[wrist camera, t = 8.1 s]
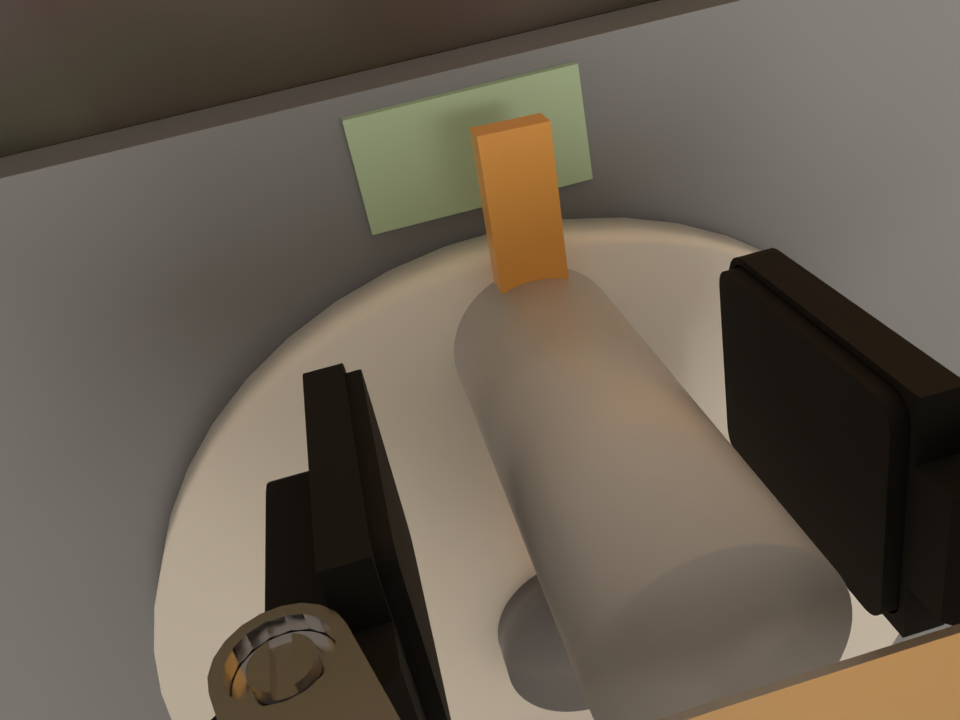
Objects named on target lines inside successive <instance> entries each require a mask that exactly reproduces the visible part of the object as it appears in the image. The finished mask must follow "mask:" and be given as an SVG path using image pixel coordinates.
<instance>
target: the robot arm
mask: <svg viewBox="0 0 960 720" xmlns="http://www.w3.org/2000/svg"><path fill="white" fill-rule="evenodd" d="M719 291H720V308H721V325H722V342H723V359H724V376H725V393H726V411H727V428H728V435H729V439H730V442H731V445H732V446H733V447H734V449H735V450H736V451H737V452H738V453H739V455H740V456H741V457H742V458H743V459H744V461H745V462H746V463H747V464H748V465H749V467H750V468H751V469H752V470H753V471H754V473H755V474H756V475H757V476H758V477H759V479H760V480H761V481H762V482H763V483H764V485H765V486H766V487H767V488H768V489H769V490H770V492H771V493H772V494H773V495H774V496H775V498H776V499H777V500H778V501H779V502H780V504H781V505H782V506H783V507H784V508H785V510H786V511H787V512H788V513H789V514H790V516H791V517H792V518H793V519H794V520H795V522H796V523H797V524H798V525H799V526H800V528H801V529H802V530H803V531H804V532H805V534H806V535H807V536H808V537H809V538H810V540H811V541H812V542H813V543H814V544H815V546H816V547H817V548H818V549H819V550H820V552H821V553H822V554H823V555H824V556H825V558H826V559H827V560H828V561H829V562H830V564H831V565H832V566H833V567H834V568H835V569H836V571H837V572H838V573H839V575H840V576H841V578H842V579H843V581H844V582H845V584H846V586H847V588H848V589H849V591H850V592H851V593H852V594H853V595H854V597H855V598H856V599H857V600H858V601H859V603H860V604H861V605H862V606H863V607H864V609H865V610H866V611H867V612H868V613H870V614H871V615H873V616H878V615H881V614H883V615H884V616H885V618H886V619H887V620H888V621H889V622H890V624H891V625H892V626H893V627H894V628H895V629H896V631H897V632H898V633H899V634H900V635H901V636H902V638H904V637H908V636H911V635H914V634H917V633H920V632H923V631H927V630H930V629H933V628H936V627H939V626H943V625H944V624H948V625H952V626H951V627H948V628H945V629H941V630H938V631H935V632H932V633H929V634H925V635H922V636H919V637H916V638H913V639H910V640H906V641H903V642H900V643H897V644H894V645H890V646H887V647H884V648H881V649H878V650H875V651H871V652H868V653H865V654H862V655H859V656H855V657H852V658H849V659H846V660H843V661H840V662H836V663H833V664H830V665H827V666H824V667H821V668H817V669H814V670H811V671H808V672H805V673H802V674H798V675H795V676H792V677H789V678H786V679H783V680H779V681H776V682H773V683H770V684H767V685H764V686H760V687H757V688H754V689H751V690H748V691H745V692H742V693H738V694H735V695H732V696H729V697H726V698H723V699H719V700H716V701H713V702H710V703H707V704H704V705H701V706H697V707H694V708H691V709H688V710H685V711H682V712H679V713H676V714H673V715H669V716H666V717H663V718H660V719H657V720H960V377H959V376H957V375H956V374H954V373H953V372H951V371H950V370H949V369H947V368H946V367H944V366H943V365H941V364H940V363H939V362H937V361H936V360H934V359H933V358H931V357H930V356H929V355H927V354H926V353H924V352H923V351H922V350H920V349H919V348H917V347H916V346H914V345H913V344H912V343H910V342H909V341H907V340H906V339H904V338H903V337H902V336H900V335H899V334H897V333H896V332H894V331H893V330H892V329H890V328H889V327H887V326H886V325H884V324H883V323H882V322H880V321H879V320H877V319H876V318H875V317H873V316H872V315H870V314H869V313H867V312H866V311H865V310H863V309H862V308H860V307H859V306H857V305H856V304H855V303H853V302H852V301H850V300H849V299H847V298H846V297H845V296H843V295H842V294H840V293H839V292H837V291H836V290H835V289H833V288H832V287H830V286H829V285H828V284H826V283H825V282H823V281H822V280H820V279H819V278H818V277H816V276H815V275H813V274H812V273H810V272H809V271H808V270H806V269H805V268H803V267H802V266H800V265H799V264H798V263H796V262H795V261H793V260H792V259H790V258H789V257H788V256H786V255H785V254H783V253H782V252H781V251H779V250H778V249H775V248H770V249H766V250H762V251H758V252H755V253H751V254H747V255H744V256H740V257H736V258H733V259H732V261H731V263H730V267H729V270H727V271H723V272H722V273H721V274H720V278H719ZM303 392H304V407H305V422H306V438H307V453H308V468H309V471H306V472H302V473H299V474H295V475H292V476H288V477H284V478H281V479H277V480H274V481H270V482H268V483H267V485H266V524H265V612H264V613H261V614H259V615H258V616H256V617H254V618H253V619H251V620H250V621H248V622H246V623H245V624H243V625H242V626H240V627H239V628H238V629H237V630H236V631H235V632H234V633H233V634H232V635H231V636H230V637H229V638H228V639H226V640H225V641H224V643H223V644H222V646H221V647H220V649H219V650H218V652H217V653H216V655H215V656H214V658H213V660H212V663H211V667H210V670H209V673H208V676H207V679H208V691H209V696H210V700H211V703H212V706H213V709H214V712H215V716H214V717H213V718H212V719H211V720H451V717H450V712H449V708H448V703H447V699H446V694H445V689H444V685H443V680H442V676H441V671H440V667H439V662H438V657H437V653H436V648H435V644H434V639H433V634H432V630H431V625H430V621H429V616H428V612H427V607H426V602H425V598H424V593H423V589H422V584H421V579H420V575H419V570H418V566H417V561H416V557H415V552H414V548H413V543H412V539H411V535H410V532H409V528H408V524H407V521H406V518H405V514H404V511H403V507H402V504H401V501H400V497H399V494H398V491H397V487H396V484H395V480H394V477H393V474H392V470H391V467H390V464H389V460H388V457H387V454H386V450H385V447H384V443H383V440H382V437H381V433H380V430H379V427H378V423H377V420H376V416H375V413H374V410H373V406H372V403H371V400H370V396H369V393H368V390H367V386H366V383H365V379H364V376H363V373H362V370H361V369H359V370H355V371H352V372H348V373H346V370H345V367H344V365H343V363H341V364H337V365H333V366H329V367H326V368H322V369H318V370H315V371H311V372H307V373H303Z"/></svg>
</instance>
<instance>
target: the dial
mask: <svg viewBox="0 0 960 720" xmlns="http://www.w3.org/2000/svg"><path fill="white" fill-rule="evenodd" d="M470 134H471V140H472V146H473V153H474V159H475V165H476V171H477V177H478V184H479V190H480V196H481V202H482V209H483V215H484V221H485V227H486V233H487V234H485V235H481V236H478V237H475V238H471V239H468V240H464V241H461V242H457V243H454V244H451V245H447V246H444V247H442V248H440V249H437V250H435V251H433V252H430V253H428V254H426V255H423V256H421V257H419V258H417V259H414V260H412V261H410V262H407V263H405V264H403V265H400V266H398V267H396V268H393V269H391V270H389V271H387V272H385V273H384V274H382V275H380V276H378V277H377V278H375V279H373V280H372V281H370V282H368V283H366V284H365V285H363V286H361V287H360V288H358V289H356V290H354V291H353V292H351V293H349V294H348V295H346V296H344V297H342V298H341V299H339V300H337V301H336V302H334V303H333V304H332V305H330V306H329V307H328V308H326V309H325V310H324V311H322V312H321V313H320V314H319V315H317V316H316V317H315V318H313V319H312V320H311V321H309V322H308V323H307V324H305V325H304V326H303V327H302V328H300V329H299V330H298V331H296V332H295V333H294V334H292V335H291V336H290V337H288V338H287V339H286V340H285V341H284V342H283V343H282V344H281V345H280V346H279V347H278V348H277V349H276V350H275V351H274V352H273V353H272V354H271V355H270V356H269V357H268V358H267V359H266V360H265V361H264V362H263V363H262V364H261V365H260V366H259V367H258V368H257V369H256V370H255V371H254V372H253V373H252V374H251V375H250V376H249V377H248V378H247V379H246V380H245V382H244V383H243V384H242V386H241V387H240V388H239V389H238V391H237V392H236V393H235V395H234V396H233V397H232V399H231V400H230V401H229V403H228V404H227V405H226V407H225V408H224V409H223V410H222V412H221V413H220V414H219V416H218V417H217V418H216V420H215V421H214V422H213V424H212V426H211V427H210V429H209V431H208V433H207V435H206V436H205V438H204V440H203V442H202V444H201V445H200V447H199V449H198V451H197V452H196V454H195V456H194V458H193V460H192V461H191V463H190V465H189V467H188V469H187V471H186V474H185V477H184V480H183V482H182V485H181V488H180V490H179V493H178V496H177V499H176V501H175V504H174V507H173V509H172V512H171V515H170V521H169V526H168V531H167V536H166V542H165V547H164V552H163V557H162V563H161V569H160V575H159V581H158V588H157V594H156V600H155V606H154V655H155V661H156V666H157V672H158V678H159V683H160V689H161V694H162V696H163V699H164V702H165V704H166V707H167V710H168V712H169V715H170V717H171V720H211V719H212V718H213V717H214V716H215V712H214V709H213V706H212V703H211V700H210V696H209V691H208V679H207V676H208V673H209V670H210V667H211V663H212V660H213V658H214V656H215V655H216V653H217V652H218V650H219V649H220V647H221V646H222V644H223V643H224V641H225V640H226V639H228V638H229V637H230V636H231V635H232V634H233V633H234V632H235V631H236V630H237V629H238V628H239V627H240V626H242V625H243V624H245V623H246V622H248V621H250V620H251V619H253V618H254V617H256V616H258V615H259V614H261V613H264V612H265V524H266V485H267V483H268V482H270V481H274V480H277V479H281V478H284V477H288V476H292V475H295V474H299V473H302V472H306V471H309V468H308V453H307V438H306V422H305V407H304V392H303V373H307V372H311V371H315V370H318V369H322V368H326V367H329V366H333V365H337V364H341V363H343V365H344V367H345V370H346V373H348V372H352V371H355V370H359V369H361V370H362V373H363V376H364V379H365V383H366V386H367V390H368V393H369V396H370V400H371V403H372V406H373V410H374V413H375V416H376V420H377V423H378V427H379V430H380V433H381V437H382V440H383V443H384V447H385V450H386V454H387V457H388V460H389V464H390V467H391V470H392V474H393V477H394V480H395V484H396V487H397V491H398V494H399V497H400V501H401V504H402V507H403V511H404V514H405V518H406V521H407V524H408V528H409V532H410V535H411V539H412V543H413V548H414V552H415V557H416V561H417V566H418V570H419V575H420V579H421V584H422V589H423V593H424V598H425V602H426V607H427V612H428V616H429V621H430V625H431V630H432V634H433V639H434V644H435V648H436V653H437V657H438V662H439V667H440V671H441V676H442V680H443V685H444V689H445V694H446V699H447V703H448V708H449V712H450V717H451V720H657V719H660V718H663V717H666V716H669V715H673V714H676V713H679V712H682V711H685V710H688V709H691V708H694V707H697V706H701V705H704V704H707V703H710V702H713V701H716V700H719V699H723V698H726V697H729V696H732V695H735V694H738V693H742V692H745V691H748V690H751V689H754V688H757V687H760V686H764V685H767V684H770V683H773V682H776V681H779V680H783V679H786V678H789V677H792V676H795V675H798V674H802V673H805V672H808V671H811V670H814V669H817V668H821V667H824V666H827V665H830V664H833V663H836V662H840V661H843V660H846V659H849V658H852V657H855V656H859V655H862V654H865V653H868V652H871V651H875V650H878V649H881V648H884V647H887V646H890V645H892V644H893V642H894V641H895V639H896V638H897V636H898V634H899V633H898V632H897V631H896V629H895V628H894V627H893V626H892V625H891V624H890V622H889V621H888V620H887V619H886V618H885V616H884V615H883V614H881V615H878V616H873V615H871V614H870V613H868V612H867V611H866V610H865V609H864V607H863V606H862V605H861V604H860V603H859V601H858V600H857V599H856V598H855V597H854V595H853V594H852V593H851V592H850V591H849V589H848V588H847V586H846V584H845V582H844V581H843V579H842V578H841V576H840V575H839V573H838V572H837V571H836V569H835V568H834V567H833V566H832V565H831V564H830V562H829V561H828V560H827V559H826V558H825V556H824V555H823V554H822V553H821V552H820V550H819V549H818V548H817V547H816V546H815V544H814V543H813V542H812V541H811V540H810V538H809V537H808V536H807V535H806V534H805V532H804V531H803V530H802V529H801V528H800V526H799V525H798V524H797V523H796V522H795V520H794V519H793V518H792V517H791V516H790V514H789V513H788V512H787V511H786V510H785V508H784V507H783V506H782V505H781V504H780V502H779V501H778V500H777V499H776V498H775V496H774V495H773V494H772V493H771V492H770V490H769V489H768V488H767V487H766V486H765V485H764V483H763V482H762V481H761V480H760V479H759V477H758V476H757V475H756V474H755V473H754V471H753V470H752V469H751V468H750V467H749V465H748V464H747V463H746V462H745V461H744V459H743V458H742V457H741V456H740V455H739V453H738V452H737V451H736V450H735V449H734V447H733V446H732V445H731V442H730V439H729V435H728V428H727V411H726V393H725V376H724V359H723V342H722V325H721V308H720V291H719V278H720V274H721V273H722V272H723V271H727V270H729V267H730V263H731V261H732V259H733V258H736V257H740V256H744V255H747V254H751V253H755V252H758V251H762V250H760V249H758V248H755V247H753V246H751V245H748V244H746V243H744V242H741V241H739V240H737V239H734V238H732V237H730V236H727V235H723V234H719V233H715V232H711V231H707V230H703V229H699V228H695V227H691V226H687V225H683V224H679V223H672V222H663V221H653V220H644V219H634V218H625V217H616V218H582V219H562V216H561V207H560V199H559V190H558V181H557V173H556V164H555V155H554V147H553V138H552V129H551V121H550V120H549V119H548V118H546V117H545V116H544V115H543V114H541V113H537V114H533V115H528V116H523V117H518V118H514V119H509V120H504V121H499V122H495V123H490V124H485V125H481V126H476V127H471V128H470Z"/></svg>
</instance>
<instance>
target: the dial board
mask: <svg viewBox="0 0 960 720" xmlns="http://www.w3.org/2000/svg"><path fill="white" fill-rule="evenodd" d="M537 113H541V114H543V115H544V116H545V117H546V118H548V119H549V120H550V121H551V129H552V138H553V147H554V155H555V164H556V173H557V181H558V190H559V199H560V207H561V216H562V219H582V218H616V217H625V218H634V219H644V220H653V221H663V222H672V223H679V224H683V225H687V226H691V227H695V228H699V229H703V230H707V231H711V232H715V233H719V234H723V235H727V236H730V237H732V238H734V239H737V240H739V241H741V242H744V243H746V244H748V245H751V246H753V247H755V248H758V249H760V250H766V249H770V248H775V249H778V250H779V251H781V252H782V253H783V254H785V255H786V256H788V257H789V258H790V259H792V260H793V261H795V262H796V263H798V264H799V265H800V266H802V267H803V268H805V269H806V270H808V271H809V272H810V273H812V274H813V275H815V276H816V277H818V278H819V279H820V280H822V281H823V282H825V283H826V284H828V285H829V286H830V287H832V288H833V289H835V290H836V291H837V292H839V293H840V294H842V295H843V296H845V297H846V298H847V299H849V300H850V301H852V302H853V303H855V304H856V305H857V306H859V307H860V308H862V309H863V310H865V311H866V312H867V313H869V314H870V315H872V316H873V317H875V318H876V319H877V320H879V321H880V322H882V323H883V324H884V325H886V326H887V327H889V328H890V329H892V330H893V331H894V332H896V333H897V334H899V335H900V336H902V337H903V338H904V339H906V340H907V341H909V342H910V343H912V344H913V345H914V346H916V347H917V348H919V349H920V350H922V351H923V352H924V353H926V354H927V355H929V356H930V357H931V358H933V359H934V360H936V361H937V362H939V363H940V364H941V365H943V366H944V367H946V368H947V369H949V370H950V371H951V372H953V373H954V374H956V375H957V376H959V377H960V0H659V1H655V2H651V3H646V4H642V5H638V6H634V7H630V8H626V9H621V10H617V11H613V12H609V13H605V14H600V15H596V16H592V17H588V18H584V19H579V20H575V21H571V22H567V23H563V24H559V25H554V26H550V27H546V28H542V29H538V30H533V31H529V32H525V33H521V34H517V35H512V36H508V37H504V38H500V39H496V40H491V41H487V42H483V43H479V44H475V45H471V46H466V47H462V48H458V49H454V50H450V51H445V52H441V53H437V54H433V55H429V56H424V57H420V58H416V59H412V60H408V61H404V62H399V63H395V64H391V65H387V66H383V67H378V68H374V69H370V70H366V71H362V72H357V73H353V74H349V75H345V76H341V77H337V78H332V79H328V80H324V81H320V82H316V83H311V84H307V85H303V86H299V87H295V88H290V89H286V90H282V91H278V92H274V93H269V94H265V95H261V96H257V97H253V98H249V99H244V100H240V101H236V102H232V103H228V104H223V105H219V106H215V107H211V108H207V109H202V110H198V111H194V112H190V113H186V114H182V115H177V116H173V117H169V118H165V119H161V120H156V121H152V122H148V123H144V124H140V125H135V126H131V127H127V128H123V129H119V130H115V131H110V132H106V133H102V134H98V135H94V136H89V137H85V138H81V139H77V140H73V141H68V142H64V143H60V144H56V145H52V146H47V147H43V148H39V149H35V150H31V151H27V152H22V153H18V154H14V155H10V156H6V157H1V158H0V720H171V717H170V715H169V712H168V710H167V707H166V704H165V702H164V699H163V696H162V694H161V689H160V683H159V678H158V672H157V666H156V661H155V655H154V606H155V600H156V594H157V588H158V581H159V575H160V569H161V563H162V557H163V552H164V547H165V542H166V536H167V531H168V526H169V521H170V515H171V512H172V509H173V507H174V504H175V501H176V499H177V496H178V493H179V490H180V488H181V485H182V482H183V480H184V477H185V474H186V471H187V469H188V467H189V465H190V463H191V461H192V460H193V458H194V456H195V454H196V452H197V451H198V449H199V447H200V445H201V444H202V442H203V440H204V438H205V436H206V435H207V433H208V431H209V429H210V427H211V426H212V424H213V422H214V421H215V420H216V418H217V417H218V416H219V414H220V413H221V412H222V410H223V409H224V408H225V407H226V405H227V404H228V403H229V401H230V400H231V399H232V397H233V396H234V395H235V393H236V392H237V391H238V389H239V388H240V387H241V386H242V384H243V383H244V382H245V380H246V379H247V378H248V377H249V376H250V375H251V374H252V373H253V372H254V371H255V370H256V369H257V368H258V367H259V366H260V365H261V364H262V363H263V362H264V361H265V360H266V359H267V358H268V357H269V356H270V355H271V354H272V353H273V352H274V351H275V350H276V349H277V348H278V347H279V346H280V345H281V344H282V343H283V342H284V341H285V340H286V339H287V338H288V337H290V336H291V335H292V334H294V333H295V332H296V331H298V330H299V329H300V328H302V327H303V326H304V325H305V324H307V323H308V322H309V321H311V320H312V319H313V318H315V317H316V316H317V315H319V314H320V313H321V312H322V311H324V310H325V309H326V308H328V307H329V306H330V305H332V304H333V303H334V302H336V301H337V300H339V299H341V298H342V297H344V296H346V295H348V294H349V293H351V292H353V291H354V290H356V289H358V288H360V287H361V286H363V285H365V284H366V283H368V282H370V281H372V280H373V279H375V278H377V277H378V276H380V275H382V274H384V273H385V272H387V271H389V270H391V269H393V268H396V267H398V266H400V265H403V264H405V263H407V262H410V261H412V260H414V259H417V258H419V257H421V256H423V255H426V254H428V253H430V252H433V251H435V250H437V249H440V248H442V247H444V246H447V245H451V244H454V243H457V242H461V241H464V240H468V239H471V238H475V237H478V236H481V235H485V234H487V233H486V227H485V221H484V215H483V209H482V202H481V196H480V190H479V184H478V177H477V171H476V165H475V159H474V153H473V146H472V140H471V134H470V128H471V127H476V126H481V125H485V124H490V123H495V122H499V121H504V120H509V119H514V118H518V117H523V116H528V115H533V114H537ZM951 626H952V625H948V624H944V625H943V626H939V627H936V628H933V629H930V630H927V631H923V632H920V633H917V634H914V635H911V636H908V637H904V638H902V636H901V635H900V634H898V636H897V638H896V639H895V641H894V642H893V644H892V645H894V644H897V643H900V642H903V641H906V640H910V639H913V638H916V637H919V636H922V635H925V634H929V633H932V632H935V631H938V630H941V629H945V628H948V627H951Z"/></svg>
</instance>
